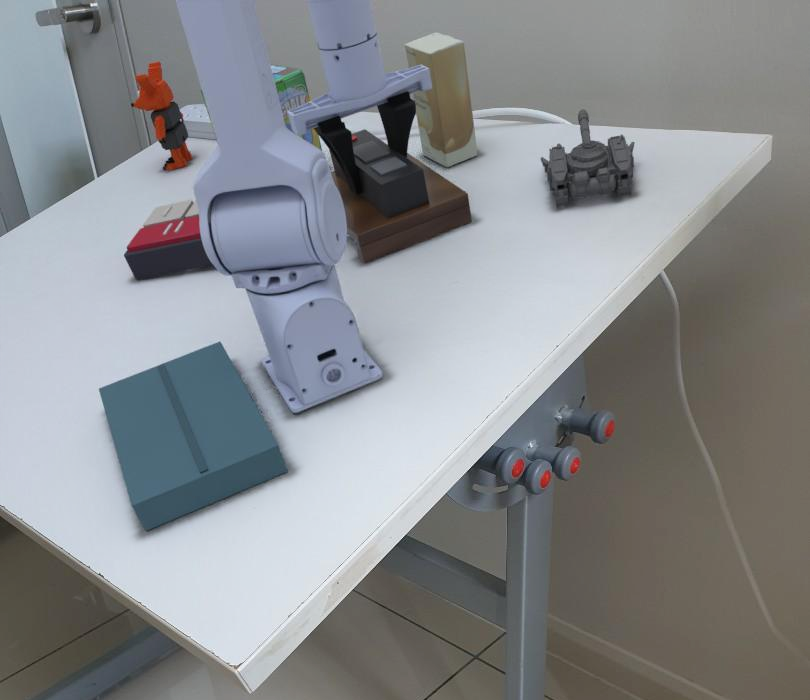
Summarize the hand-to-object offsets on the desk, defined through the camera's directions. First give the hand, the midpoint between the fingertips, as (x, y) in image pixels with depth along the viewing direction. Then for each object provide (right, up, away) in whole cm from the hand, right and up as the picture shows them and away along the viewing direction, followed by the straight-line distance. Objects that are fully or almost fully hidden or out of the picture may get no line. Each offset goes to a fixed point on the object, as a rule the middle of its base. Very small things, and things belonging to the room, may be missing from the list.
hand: (378, 182), depth 91 cm
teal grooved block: (-14, -29, -21) cm, 39 cm away
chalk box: (-13, +7, +17) cm, 22 cm away
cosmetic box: (+8, +7, +11) cm, 15 cm away
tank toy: (+22, -1, -2) cm, 22 cm away
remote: (0, 0, 0) cm, 0 cm away
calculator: (-19, -5, +5) cm, 20 cm away
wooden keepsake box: (+1, -2, +2) cm, 3 cm away
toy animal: (-29, +14, +29) cm, 43 cm away
